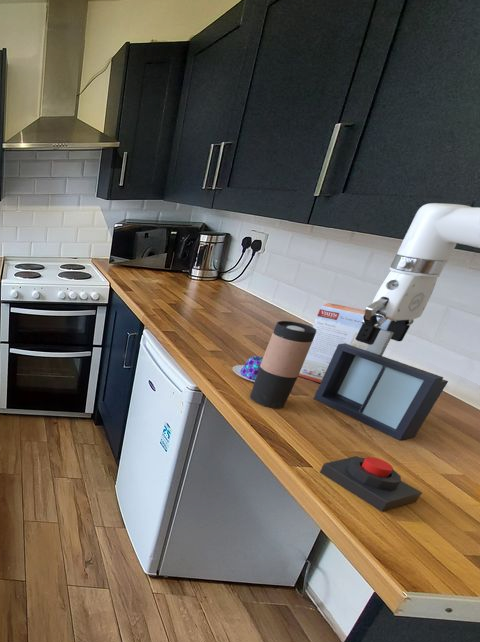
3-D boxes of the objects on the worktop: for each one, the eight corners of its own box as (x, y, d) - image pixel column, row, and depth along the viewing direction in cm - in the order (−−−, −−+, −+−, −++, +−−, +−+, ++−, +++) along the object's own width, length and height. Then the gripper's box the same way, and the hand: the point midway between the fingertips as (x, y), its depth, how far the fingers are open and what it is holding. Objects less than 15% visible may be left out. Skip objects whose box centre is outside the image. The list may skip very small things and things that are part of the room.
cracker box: (361, 390, 107) (399, 316, 99) (354, 395, 104) (392, 320, 96) (300, 369, 118) (329, 301, 109) (291, 374, 115) (321, 304, 106)
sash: (368, 409, 95) (406, 336, 87) (364, 409, 94) (403, 336, 87) (335, 394, 101) (368, 324, 93) (331, 394, 101) (365, 325, 93)
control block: (416, 502, 70) (427, 484, 68) (381, 512, 67) (393, 494, 65) (351, 464, 78) (360, 448, 77) (319, 472, 76) (327, 455, 74)
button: (393, 476, 70) (398, 468, 69) (379, 479, 69) (384, 471, 68) (369, 462, 73) (374, 455, 73) (356, 466, 72) (360, 458, 72)
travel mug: (242, 392, 104) (268, 319, 95) (271, 394, 103) (301, 321, 95) (260, 408, 97) (291, 331, 88) (292, 410, 97) (326, 333, 88)
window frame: (414, 437, 88) (451, 376, 82) (399, 440, 86) (436, 378, 80) (327, 396, 103) (352, 342, 97) (313, 398, 102) (338, 344, 96)
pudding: (223, 372, 114) (229, 356, 112) (244, 364, 120) (249, 348, 118) (270, 391, 105) (277, 373, 103) (290, 380, 111) (297, 363, 109)
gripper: (412, 271, 78) (371, 350, 86) (466, 269, 83) (423, 344, 90) (368, 263, 85) (333, 337, 92) (420, 261, 90) (383, 332, 97)
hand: (378, 340), depth 91 cm, fingers open, 9 cm apart
